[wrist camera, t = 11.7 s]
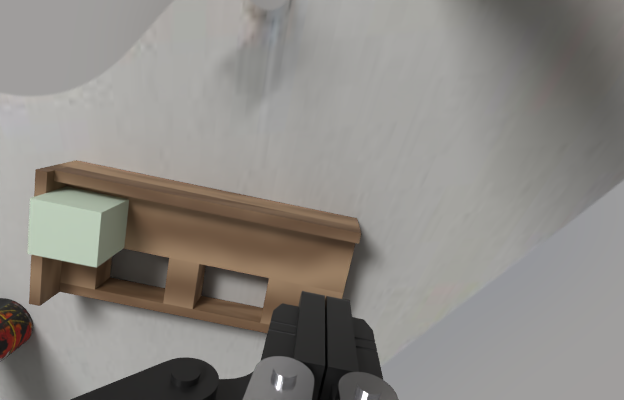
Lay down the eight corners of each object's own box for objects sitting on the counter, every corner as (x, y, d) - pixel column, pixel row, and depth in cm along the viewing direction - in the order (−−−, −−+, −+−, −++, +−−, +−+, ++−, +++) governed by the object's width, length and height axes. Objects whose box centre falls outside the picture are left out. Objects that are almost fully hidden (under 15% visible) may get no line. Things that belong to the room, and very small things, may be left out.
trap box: (76, 160, 41) (35, 169, 35) (356, 218, 42) (362, 236, 36) (68, 277, 44) (29, 303, 38) (330, 330, 45) (330, 363, 39)
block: (66, 186, 39) (30, 198, 34) (129, 199, 39) (101, 212, 34) (63, 235, 40) (27, 253, 35) (124, 247, 40) (96, 267, 35)
